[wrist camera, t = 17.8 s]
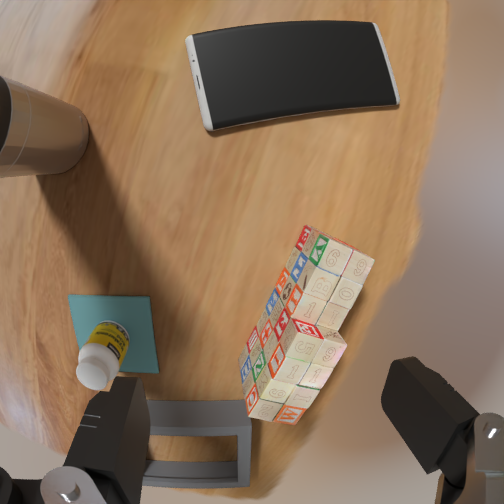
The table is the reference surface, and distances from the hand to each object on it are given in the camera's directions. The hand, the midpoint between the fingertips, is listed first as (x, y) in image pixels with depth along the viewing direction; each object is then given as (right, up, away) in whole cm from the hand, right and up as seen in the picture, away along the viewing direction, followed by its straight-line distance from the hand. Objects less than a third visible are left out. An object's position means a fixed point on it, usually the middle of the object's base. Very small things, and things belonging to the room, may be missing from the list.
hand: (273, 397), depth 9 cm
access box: (-13, -27, +37) cm, 48 cm away
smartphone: (+5, +28, +26) cm, 38 cm away
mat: (-20, -7, +31) cm, 37 cm away
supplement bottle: (-20, -7, +30) cm, 37 cm away
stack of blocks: (+4, -3, +33) cm, 33 cm away
